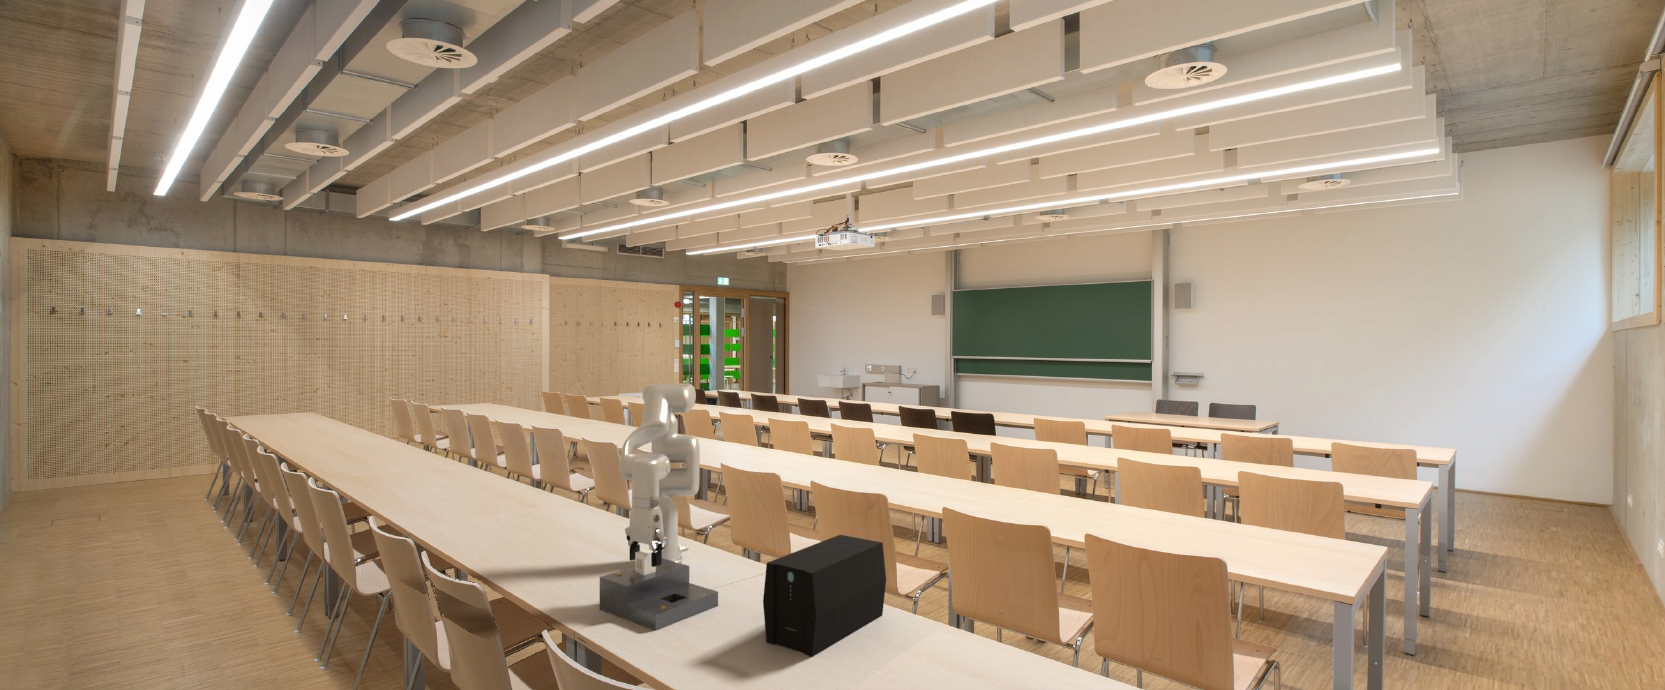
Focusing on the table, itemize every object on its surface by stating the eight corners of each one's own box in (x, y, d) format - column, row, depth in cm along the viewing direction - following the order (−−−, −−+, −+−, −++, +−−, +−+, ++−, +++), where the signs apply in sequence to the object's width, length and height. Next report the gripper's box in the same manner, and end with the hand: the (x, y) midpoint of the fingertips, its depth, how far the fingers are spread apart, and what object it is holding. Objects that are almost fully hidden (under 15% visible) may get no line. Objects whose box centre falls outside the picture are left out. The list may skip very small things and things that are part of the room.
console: (662, 587, 220) (662, 557, 220) (718, 605, 206) (718, 572, 206) (599, 609, 203) (599, 575, 203) (655, 630, 188) (655, 594, 188)
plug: (646, 576, 211) (646, 549, 211) (655, 579, 208) (655, 551, 208) (633, 580, 207) (633, 552, 207) (642, 583, 205) (642, 555, 205)
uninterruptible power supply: (762, 641, 182) (763, 561, 182) (839, 602, 209) (840, 532, 209) (816, 658, 172) (816, 574, 172) (889, 614, 200) (889, 541, 200)
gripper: (676, 504, 206) (676, 564, 206) (637, 496, 216) (637, 554, 216) (654, 508, 200) (654, 571, 200) (615, 500, 210) (615, 560, 210)
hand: (645, 562), depth 208 cm, fingers open, 9 cm apart
